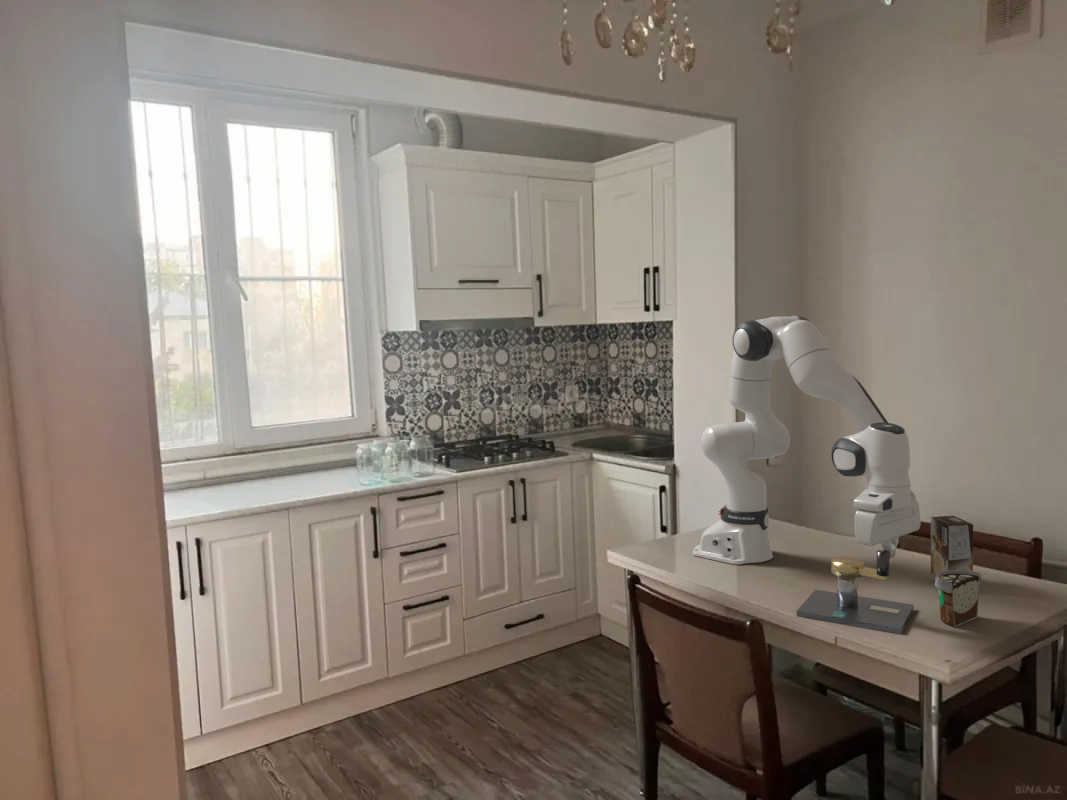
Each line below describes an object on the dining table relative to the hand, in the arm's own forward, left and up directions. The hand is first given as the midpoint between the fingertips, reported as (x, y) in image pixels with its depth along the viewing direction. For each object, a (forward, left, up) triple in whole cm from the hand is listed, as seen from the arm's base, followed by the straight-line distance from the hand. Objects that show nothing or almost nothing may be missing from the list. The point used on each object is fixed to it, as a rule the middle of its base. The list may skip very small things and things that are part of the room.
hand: (889, 557), depth 174 cm
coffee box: (+9, +31, -14) cm, 35 cm away
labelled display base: (-7, -1, -14) cm, 16 cm away
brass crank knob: (-6, 0, -5) cm, 8 cm away
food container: (+12, +6, -14) cm, 19 cm away
